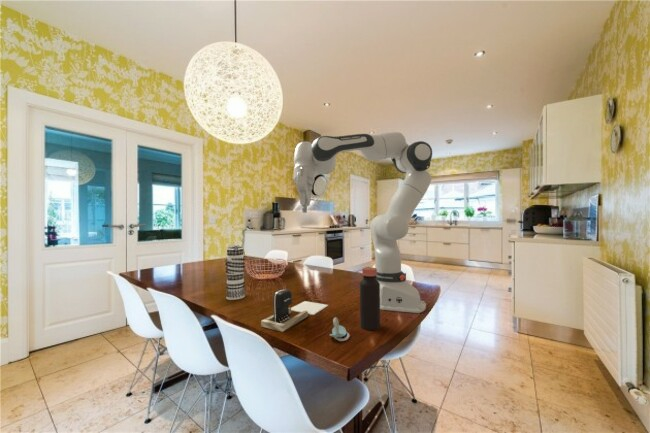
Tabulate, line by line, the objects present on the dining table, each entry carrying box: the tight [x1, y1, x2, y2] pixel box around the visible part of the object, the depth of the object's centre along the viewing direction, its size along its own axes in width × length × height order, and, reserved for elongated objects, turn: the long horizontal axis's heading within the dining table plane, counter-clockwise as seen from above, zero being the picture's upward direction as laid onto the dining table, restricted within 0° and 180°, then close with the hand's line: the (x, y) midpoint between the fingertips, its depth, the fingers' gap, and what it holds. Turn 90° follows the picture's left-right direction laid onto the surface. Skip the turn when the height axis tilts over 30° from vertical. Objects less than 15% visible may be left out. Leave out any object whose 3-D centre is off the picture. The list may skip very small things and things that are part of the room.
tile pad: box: [290, 300, 329, 316], centre depth 109 cm, size 12×12×1 cm
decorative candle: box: [224, 244, 246, 301], centre depth 126 cm, size 9×9×25 cm
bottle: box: [359, 266, 381, 331], centre depth 90 cm, size 7×7×20 cm
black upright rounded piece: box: [272, 288, 293, 323], centre depth 94 cm, size 7×4×11 cm, turn 150°
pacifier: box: [329, 316, 351, 342], centre depth 82 cm, size 7×6×6 cm
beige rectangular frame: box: [260, 307, 309, 333], centre depth 95 cm, size 9×16×2 cm, turn 151°
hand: (303, 208), depth 105 cm, fingers open, 8 cm apart
